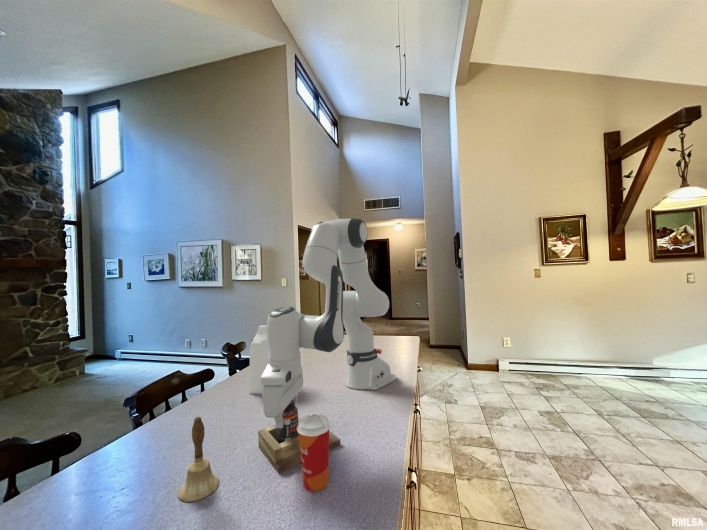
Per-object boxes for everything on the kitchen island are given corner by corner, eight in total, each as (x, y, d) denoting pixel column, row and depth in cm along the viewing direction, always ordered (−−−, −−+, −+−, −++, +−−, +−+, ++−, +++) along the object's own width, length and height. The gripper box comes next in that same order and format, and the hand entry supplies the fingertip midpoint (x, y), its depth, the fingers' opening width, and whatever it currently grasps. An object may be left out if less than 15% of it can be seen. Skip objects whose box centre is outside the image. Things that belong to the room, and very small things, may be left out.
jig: (315, 424, 94) (315, 410, 94) (340, 444, 83) (339, 428, 83) (258, 447, 84) (258, 430, 84) (278, 473, 72) (277, 454, 72)
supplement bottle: (293, 450, 79) (292, 406, 79) (273, 448, 80) (271, 405, 80) (302, 437, 85) (300, 396, 85) (282, 435, 86) (281, 396, 86)
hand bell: (225, 474, 73) (222, 408, 73) (209, 501, 64) (207, 426, 65) (190, 477, 72) (187, 410, 73) (170, 503, 64) (167, 428, 64)
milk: (287, 382, 132) (284, 322, 132) (277, 393, 120) (275, 328, 120) (260, 382, 133) (258, 323, 133) (249, 393, 121) (246, 328, 122)
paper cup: (300, 473, 72) (298, 414, 72) (332, 469, 73) (330, 411, 73) (297, 497, 64) (294, 431, 64) (333, 493, 65) (330, 428, 65)
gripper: (287, 355, 93) (289, 400, 93) (256, 381, 73) (259, 438, 73) (307, 355, 92) (309, 400, 92) (281, 381, 72) (284, 439, 72)
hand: (287, 417), depth 83 cm, fingers open, 8 cm apart
